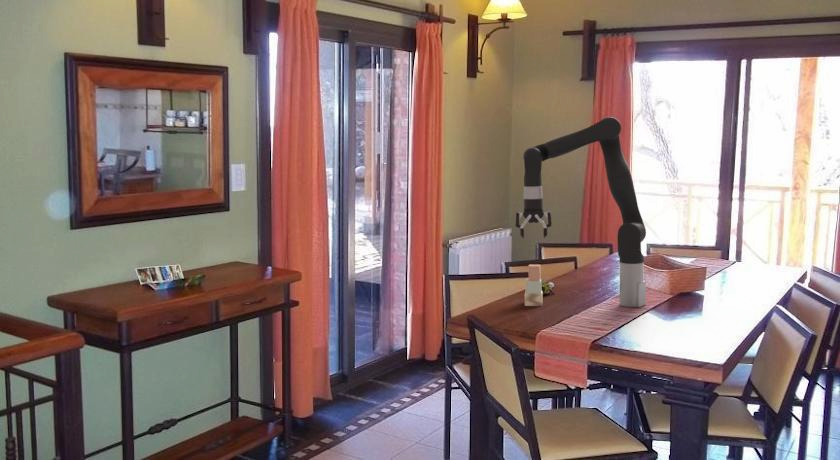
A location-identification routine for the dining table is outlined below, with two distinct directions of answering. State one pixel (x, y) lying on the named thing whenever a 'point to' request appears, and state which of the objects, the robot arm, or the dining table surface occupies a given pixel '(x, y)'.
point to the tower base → (534, 299)
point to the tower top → (533, 287)
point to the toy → (547, 287)
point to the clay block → (534, 272)
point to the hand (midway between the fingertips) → (533, 237)
